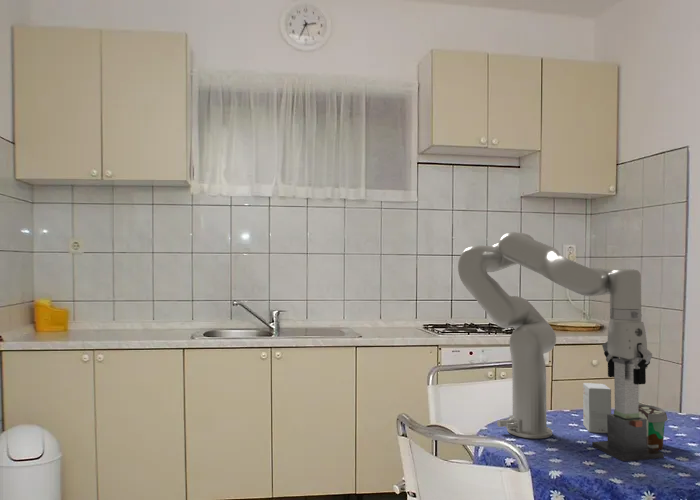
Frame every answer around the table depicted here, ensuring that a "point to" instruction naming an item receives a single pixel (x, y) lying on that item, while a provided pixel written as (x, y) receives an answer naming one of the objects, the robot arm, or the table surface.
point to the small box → (596, 407)
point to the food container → (653, 424)
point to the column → (625, 390)
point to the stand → (627, 440)
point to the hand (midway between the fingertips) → (626, 380)
